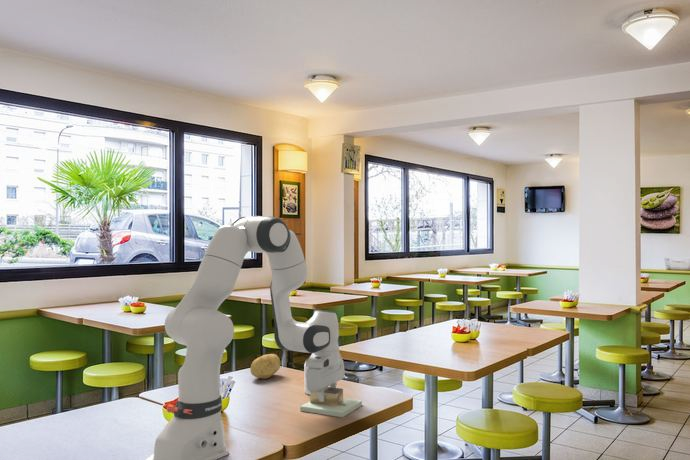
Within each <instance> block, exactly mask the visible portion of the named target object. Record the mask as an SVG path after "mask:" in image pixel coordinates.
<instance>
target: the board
mask: <svg viewBox="0 0 690 460" xmlns="http://www.w3.org/2000/svg"><path fill="white" fill-rule="evenodd" d="M362 405H363V400H361V399H355V398H344V397H343V403H341V404H339V405H338V406H331V405H324V404H317V403H310V400H309V401H308V402H306V403H304V404H302V405H300V407H299V411H300V412H304V413H305V412H306V413H313V414H319V415H325V416H332V417H339V418H344V417H345V416H348V415H349V414H350V413H352V412H353V411H355V410H356V409H358V408H359V407H361V406H362Z"/></svg>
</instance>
